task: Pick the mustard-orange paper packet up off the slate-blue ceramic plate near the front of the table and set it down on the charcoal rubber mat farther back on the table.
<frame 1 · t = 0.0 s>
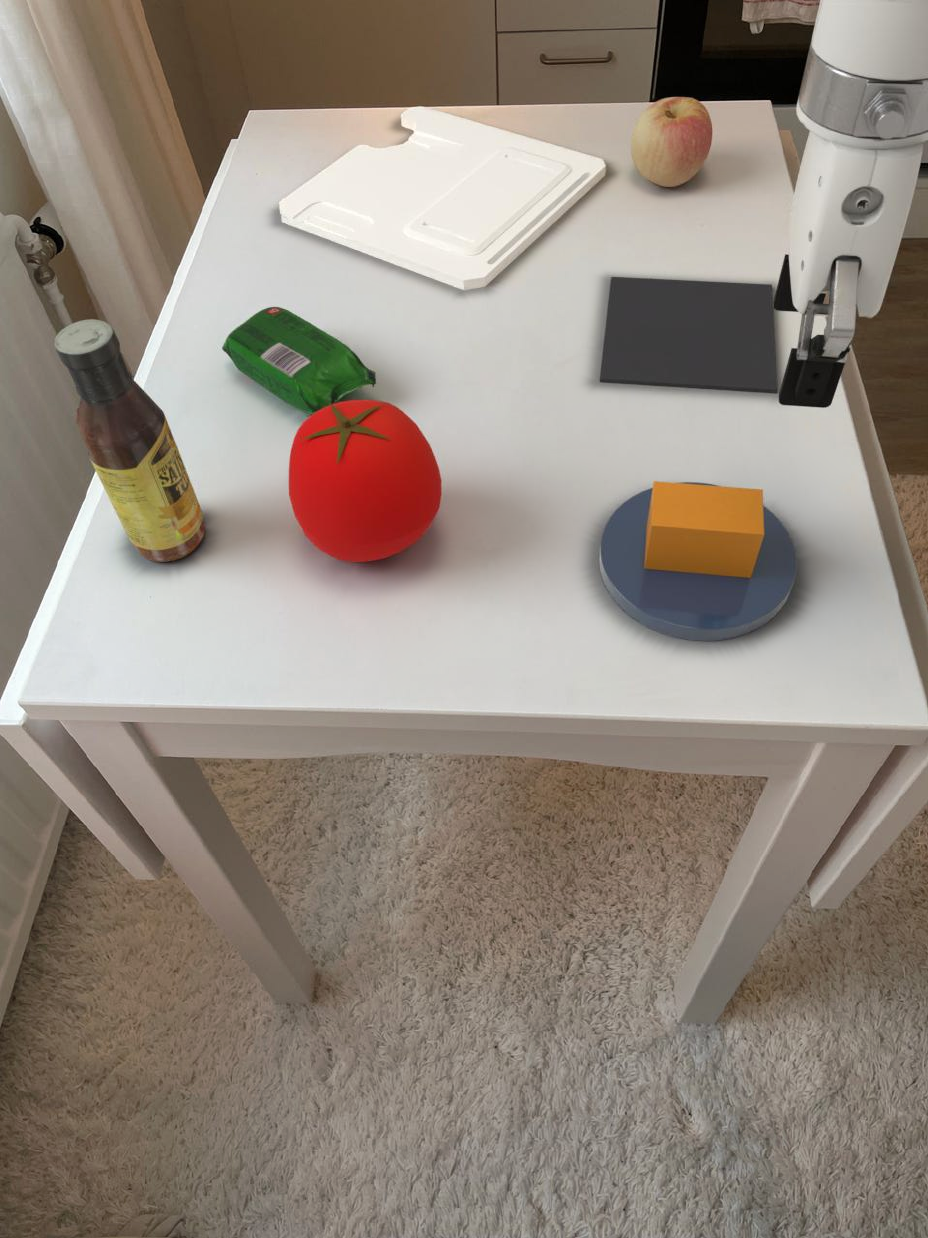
hand: (799, 354, 63), 17 cm above the table, tool pointing down, fingers open, 9 cm apart
plate: (694, 563, 75), on the table
packet: (697, 551, 74), point 1 cm above the table, touching plate
tray: (444, 194, 109), on the table
mat: (688, 332, 92), on the table
sauce bottle: (172, 537, 80), on the table
apple: (666, 179, 109), on the table
snack package: (301, 385, 91), on the table
tomato: (374, 537, 79), on the table
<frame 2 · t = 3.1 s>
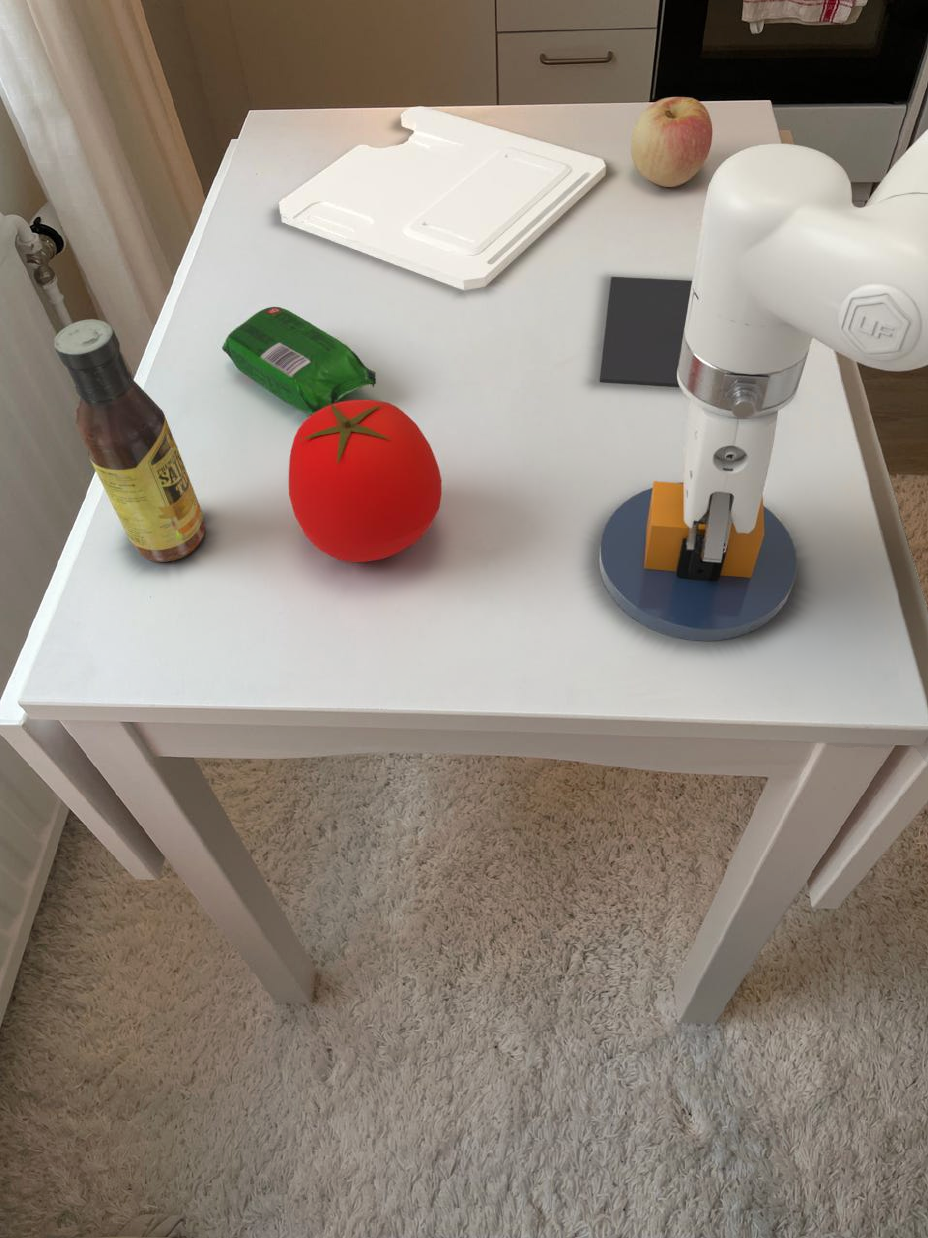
hand: (698, 548, 74), 2 cm above the table, tool pointing down, fingers closed on packet, 4 cm apart
packet: (697, 551, 74), point 2 cm above the table, touching gripper, plate
everything else where it was.
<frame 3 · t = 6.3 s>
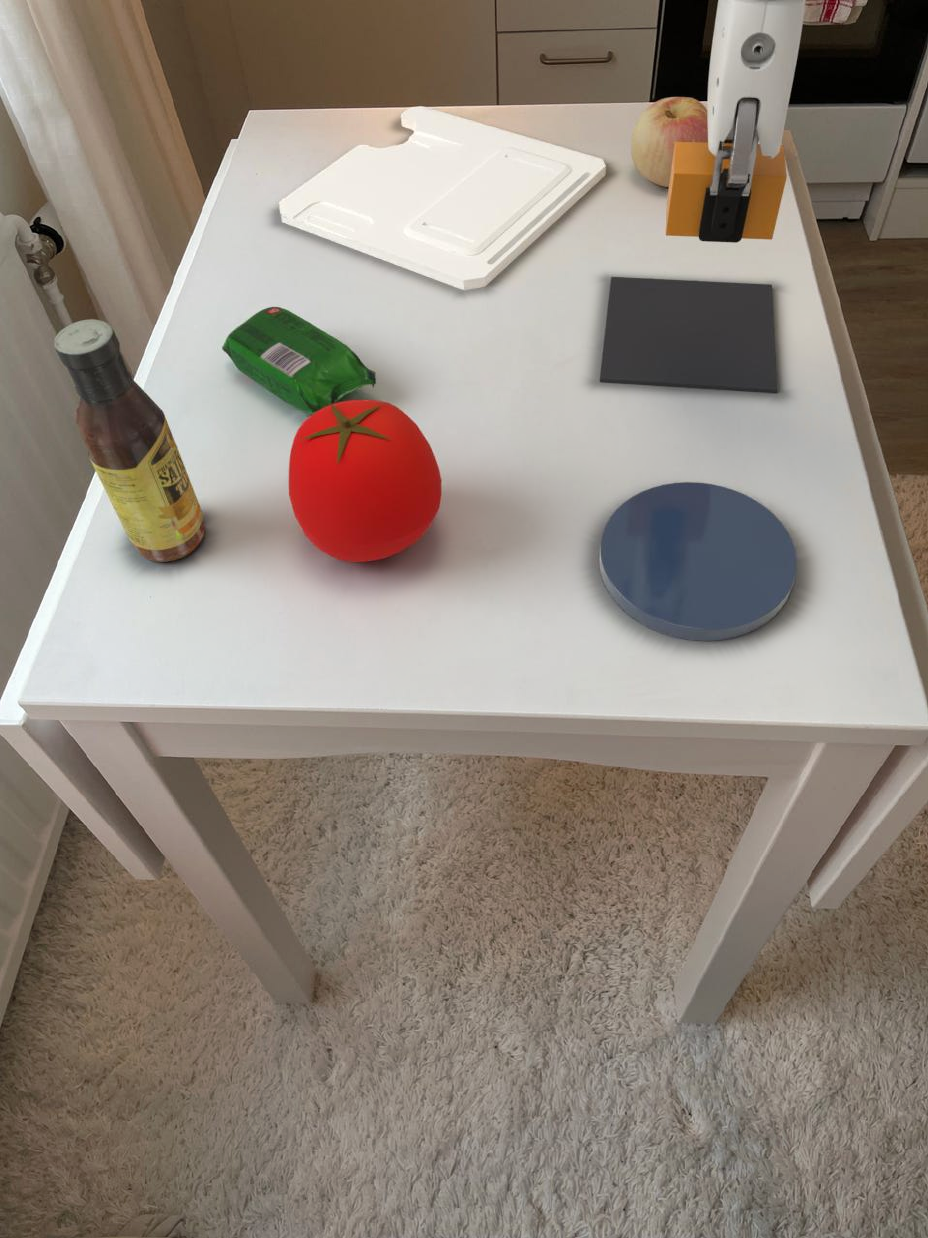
hand: (719, 217, 74), 17 cm above the table, tool pointing down, fingers closed on packet, 4 cm apart
packet: (718, 221, 74), point 16 cm above the table, touching gripper
everything else where it was.
when the fingers open (1 cm above the table, at t = 9.7 s): packet stays where it is, resting on mat.
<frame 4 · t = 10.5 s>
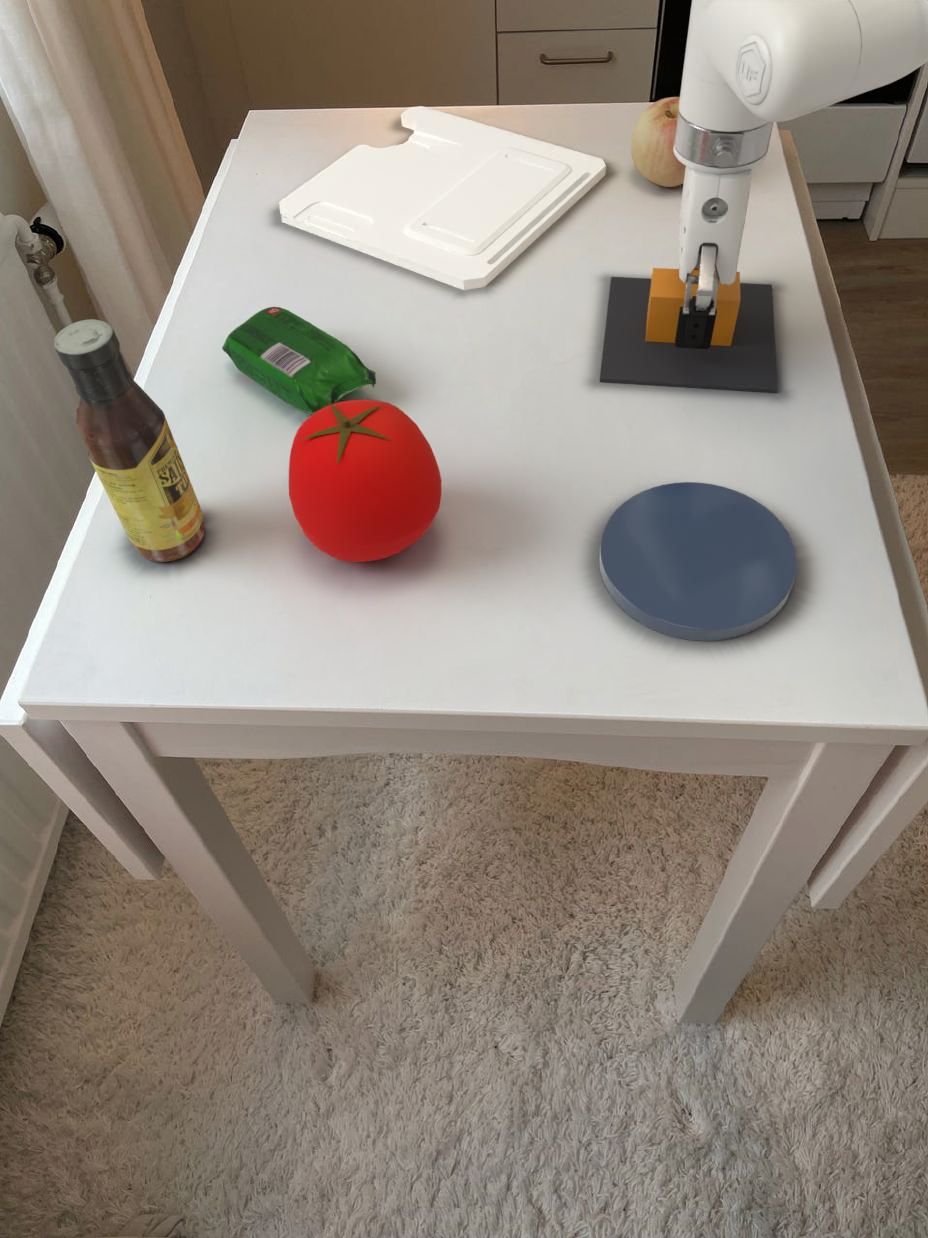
hand: (692, 313, 90), 2 cm above the table, tool pointing down, fingers open, 9 cm apart
packet: (688, 329, 92), resting on mat
everything else where it was.
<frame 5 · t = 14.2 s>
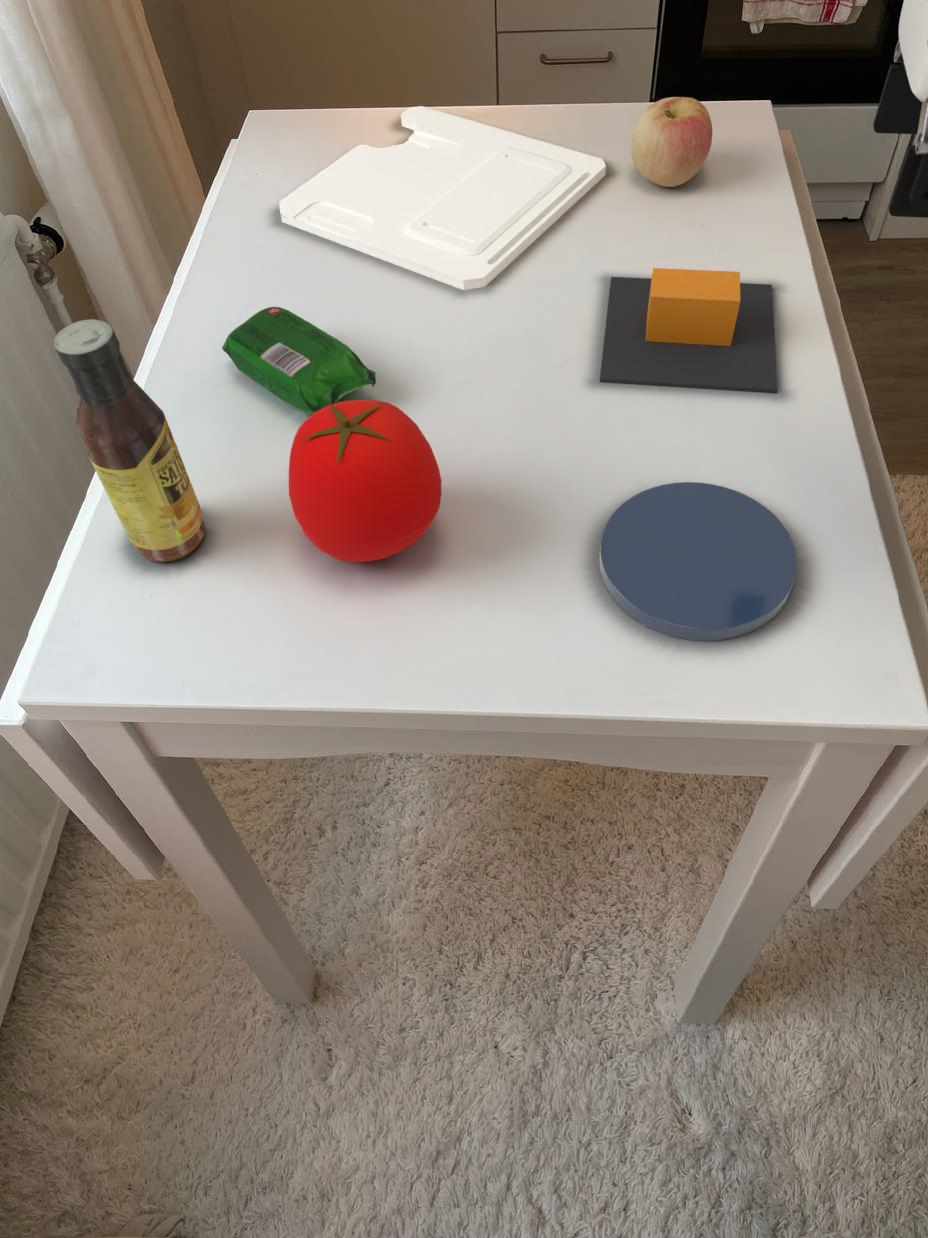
hand: (906, 170, 59), 26 cm above the table, tool pointing down, fingers open, 9 cm apart
nothing on the table moved.
at the end: packet inside the target area on the mat (0.1 cm from its centre), point 0.4 cm above the mat's base; packet touching mat; packet tilted 0° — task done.
